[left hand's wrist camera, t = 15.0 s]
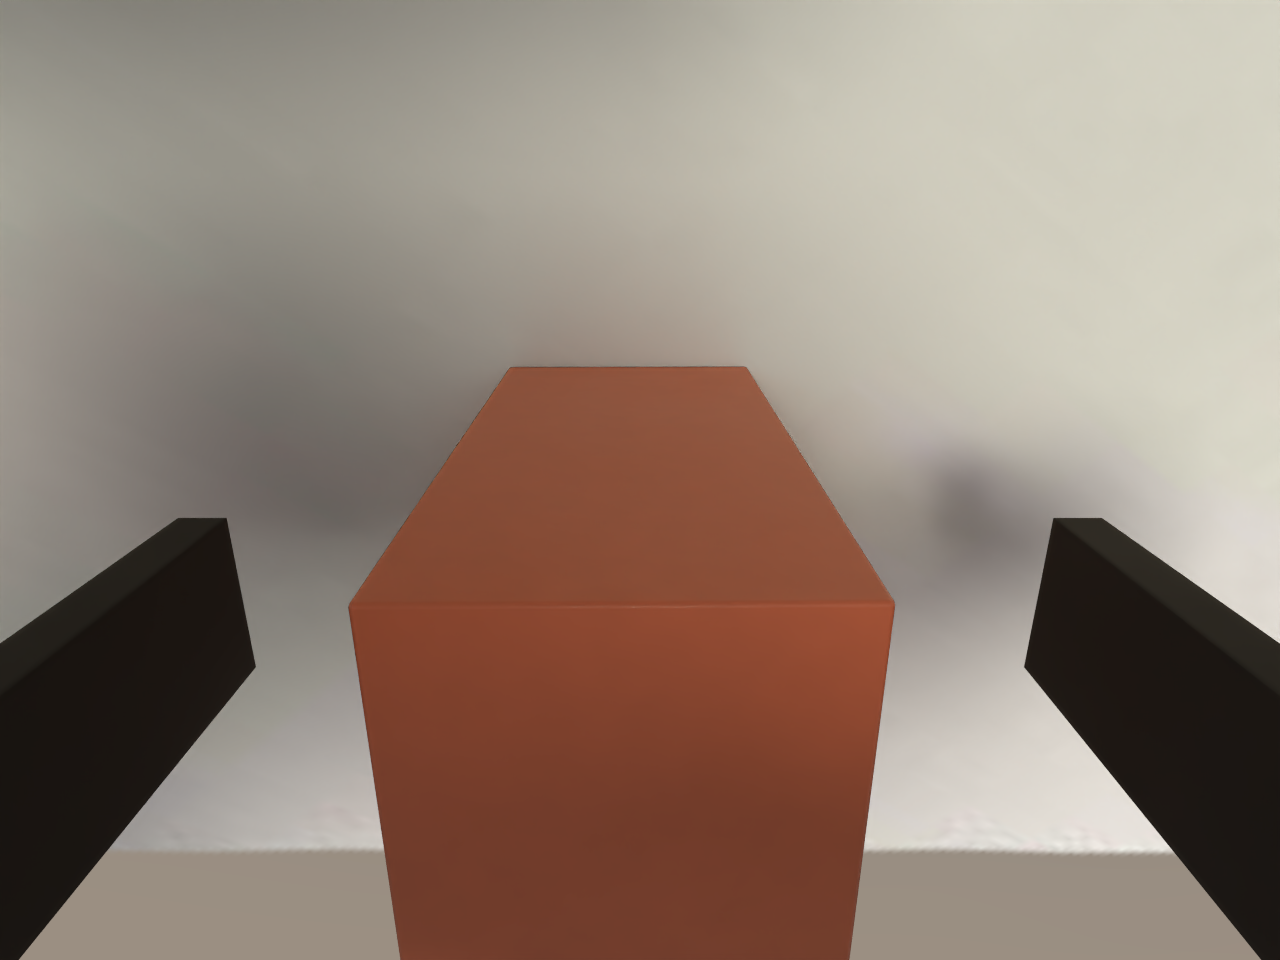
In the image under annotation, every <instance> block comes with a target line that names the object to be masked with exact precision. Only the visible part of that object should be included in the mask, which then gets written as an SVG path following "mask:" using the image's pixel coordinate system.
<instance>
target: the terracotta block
mask: <svg viewBox="0 0 1280 960" xmlns="http://www.w3.org/2000/svg"><path fill="white" fill-rule="evenodd" d="M348 608H349V614H350V621H351V628H352V635H353V641H354V648H355V655H356V662H357V668H358V675H359V682H360V689H361V695H362V702H363V709H364V716H365V723H366V729H367V736H368V743H369V750H370V756H371V763H372V770H373V777H374V783H375V790H376V797H377V804H378V810H379V817H380V824H381V831H382V837H383V844H384V851H385V858H386V865H387V871H388V878H389V885H390V892H391V898H392V905H393V912H394V919H395V925H396V932H397V939H398V946H399V952H400V959H401V960H849V958H850V950H851V942H852V934H853V926H854V919H855V911H856V903H857V896H858V888H859V880H860V873H861V865H862V857H863V849H864V842H865V834H866V826H867V818H868V811H869V803H870V795H871V787H872V780H873V772H874V764H875V757H876V749H877V741H878V733H879V726H880V718H881V710H882V702H883V695H884V687H885V679H886V671H887V664H888V656H889V648H890V640H891V633H892V625H893V617H894V610H895V603H894V600H893V599H892V597H891V596H890V594H889V592H888V591H887V589H886V588H885V586H884V585H883V583H882V581H881V580H880V578H879V577H878V575H877V573H876V572H875V570H874V569H873V567H872V566H871V564H870V562H869V561H868V559H867V558H866V556H865V554H864V553H863V551H862V550H861V548H860V547H859V545H858V543H857V542H856V540H855V539H854V537H853V535H852V534H851V532H850V531H849V529H848V528H847V526H846V524H845V523H844V521H843V520H842V518H841V516H840V515H839V513H838V512H837V510H836V509H835V507H834V505H833V504H832V502H831V501H830V499H829V497H828V496H827V494H826V493H825V491H824V490H823V488H822V486H821V485H820V483H819V482H818V480H817V478H816V477H815V475H814V474H813V472H812V471H811V469H810V467H809V466H808V464H807V463H806V461H805V459H804V458H803V456H802V455H801V453H800V452H799V450H798V448H797V447H796V445H795V444H794V442H793V440H792V439H791V437H790V436H789V434H788V433H787V431H786V429H785V428H784V426H783V425H782V423H781V421H780V420H779V418H778V417H777V415H776V414H775V412H774V410H773V409H772V407H771V406H770V404H769V402H768V401H767V399H766V398H765V396H764V395H763V393H762V391H761V390H760V388H759V387H758V385H757V383H756V382H755V380H754V379H753V377H752V376H751V374H750V372H749V371H748V369H747V368H746V367H511V368H509V370H508V371H507V372H506V374H505V375H504V377H503V378H502V380H501V381H500V383H499V384H498V386H497V387H496V389H495V390H494V392H493V393H492V395H491V396H490V398H489V399H488V400H487V402H486V403H485V405H484V406H483V408H482V409H481V411H480V412H479V414H478V415H477V417H476V418H475V420H474V421H473V423H472V424H471V425H470V427H469V428H468V430H467V431H466V433H465V434H464V436H463V437H462V439H461V440H460V442H459V443H458V445H457V446H456V448H455V449H454V450H453V452H452V453H451V455H450V456H449V458H448V459H447V461H446V462H445V464H444V465H443V467H442V468H441V470H440V471H439V473H438V474H437V475H436V477H435V478H434V480H433V481H432V483H431V484H430V486H429V487H428V489H427V490H426V492H425V493H424V495H423V496H422V498H421V499H420V501H419V502H418V503H417V505H416V506H415V508H414V509H413V511H412V512H411V514H410V515H409V517H408V518H407V520H406V521H405V523H404V524H403V526H402V527H401V528H400V530H399V531H398V533H397V534H396V536H395V537H394V539H393V540H392V542H391V543H390V545H389V546H388V548H387V549H386V551H385V552H384V553H383V555H382V556H381V558H380V559H379V561H378V562H377V564H376V565H375V567H374V568H373V570H372V571H371V573H370V574H369V576H368V577H367V579H366V580H365V581H364V583H363V584H362V586H361V587H360V589H359V590H358V592H357V593H356V595H355V596H354V598H353V599H352V601H351V602H350V604H349V607H348Z"/></svg>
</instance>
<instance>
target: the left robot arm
mask: <svg viewBox="0 0 1280 960" xmlns="http://www.w3.org/2000/svg"><path fill="white" fill-rule="evenodd" d="M255 667H256V665H255V660H254V655H253V650H252V645H251V640H250V635H249V630H248V625H247V620H246V615H245V610H244V605H243V599H242V594H241V589H240V584H239V579H238V574H237V569H236V564H235V559H234V554H233V549H232V544H231V538H230V533H229V528H228V523H227V518H178V519H176V520H175V521H173V522H172V523H171V524H169V525H168V526H166V527H165V528H163V529H162V530H161V531H159V532H158V533H156V534H155V535H154V536H152V537H151V538H149V539H148V540H146V541H145V542H144V543H142V544H141V545H139V546H138V547H137V548H135V549H134V550H132V551H131V552H129V553H128V554H127V555H125V556H124V557H122V558H121V559H120V560H118V561H117V562H115V563H114V564H112V565H111V566H110V567H108V568H107V569H105V570H104V571H103V572H101V573H100V574H98V575H97V576H95V577H94V578H93V579H91V580H90V581H88V582H87V583H85V584H84V585H83V586H81V587H80V588H78V589H77V590H76V591H74V592H73V593H71V594H70V595H68V596H67V597H66V598H64V599H63V600H61V601H60V602H59V603H57V604H56V605H54V606H53V607H51V608H50V609H49V610H47V611H46V612H44V613H43V614H42V615H40V616H39V617H37V618H36V619H34V620H33V621H32V622H30V623H29V624H27V625H26V626H24V627H23V628H22V629H20V630H19V631H17V632H16V633H15V634H13V635H12V636H10V637H9V638H7V639H6V640H5V641H3V642H2V643H0V960H19V959H20V957H21V956H22V955H23V954H24V953H25V951H26V950H27V949H28V948H29V946H30V945H31V944H32V943H33V941H34V940H35V939H36V938H37V936H38V935H39V934H40V933H41V932H42V930H43V929H44V928H45V927H46V925H47V924H48V923H49V922H50V920H51V919H52V918H53V917H54V916H55V914H56V913H57V912H58V911H59V909H60V908H61V907H62V906H63V904H64V903H65V902H66V901H67V899H68V898H69V897H70V896H71V895H72V893H73V892H74V891H75V890H76V888H77V887H78V886H79V885H80V883H81V882H82V881H83V880H84V878H85V877H86V876H87V875H88V873H89V872H90V871H91V870H92V869H93V867H94V866H95V865H96V864H97V862H98V861H99V860H100V859H101V857H102V856H103V855H104V854H105V853H106V851H107V850H108V849H109V848H110V846H111V845H112V844H113V843H114V841H115V840H116V839H117V838H118V836H119V835H120V834H121V833H122V832H123V830H124V829H125V828H126V827H127V825H128V824H129V823H130V822H131V820H132V819H133V818H134V817H135V815H136V814H137V813H138V812H139V811H140V809H141V808H142V807H143V806H144V804H145V803H146V802H147V801H148V799H149V798H150V797H151V796H152V795H153V793H154V792H155V791H156V790H157V788H158V787H159V786H160V785H161V783H162V782H163V781H164V780H165V778H166V777H167V776H168V775H169V774H170V772H171V771H172V770H173V769H174V767H175V766H176V765H177V764H178V762H179V761H180V760H181V759H182V757H183V756H184V755H185V754H186V753H187V751H188V750H189V749H190V748H191V746H192V745H193V744H194V743H195V741H196V740H197V739H198V738H199V736H200V735H201V734H202V733H203V732H204V730H205V729H206V728H207V727H208V725H209V724H210V723H211V722H212V720H213V719H214V718H215V717H216V715H217V714H218V713H219V712H220V711H221V709H222V708H223V707H224V706H225V704H226V703H227V702H228V701H229V699H230V698H231V697H232V696H233V694H234V693H235V692H236V691H237V690H238V688H239V687H240V686H241V685H242V683H243V682H244V681H245V680H246V678H247V677H248V676H249V675H250V674H251V672H252V671H253V670H254V669H255ZM1024 667H1025V669H1026V670H1027V671H1028V672H1029V674H1030V675H1031V676H1032V677H1033V678H1034V680H1035V681H1036V682H1037V683H1038V685H1039V686H1040V687H1041V688H1042V690H1043V691H1044V692H1045V693H1046V694H1047V696H1048V697H1049V698H1050V699H1051V701H1052V702H1053V703H1054V704H1055V706H1056V707H1057V708H1058V709H1059V711H1060V712H1061V713H1062V714H1063V715H1064V717H1065V718H1066V719H1067V720H1068V722H1069V723H1070V724H1071V725H1072V727H1073V728H1074V729H1075V730H1076V732H1077V733H1078V734H1079V735H1080V736H1081V738H1082V739H1083V740H1084V741H1085V743H1086V744H1087V745H1088V746H1089V748H1090V749H1091V750H1092V751H1093V753H1094V754H1095V755H1096V756H1097V757H1098V759H1099V760H1100V761H1101V762H1102V764H1103V765H1104V766H1105V767H1106V769H1107V770H1108V771H1109V772H1110V774H1111V775H1112V776H1113V777H1114V778H1115V780H1116V781H1117V782H1118V783H1119V785H1120V786H1121V787H1122V788H1123V790H1124V791H1125V792H1126V793H1127V795H1128V796H1129V797H1130V798H1131V799H1132V801H1133V802H1134V803H1135V804H1136V806H1137V807H1138V808H1139V809H1140V811H1141V812H1142V813H1143V814H1144V815H1145V817H1146V818H1147V819H1148V820H1149V822H1150V823H1151V824H1152V825H1153V827H1154V828H1155V829H1156V830H1157V832H1158V833H1159V834H1160V835H1161V836H1162V838H1163V839H1164V840H1165V841H1166V843H1167V844H1168V845H1169V846H1170V848H1171V849H1172V850H1173V851H1174V853H1175V854H1176V855H1177V856H1178V857H1179V859H1180V860H1181V861H1182V862H1183V864H1184V865H1185V866H1186V867H1187V869H1188V870H1189V871H1190V872H1191V874H1192V875H1193V876H1194V877H1195V878H1196V880H1197V881H1198V882H1199V883H1200V885H1201V886H1202V887H1203V888H1204V890H1205V891H1206V892H1207V893H1208V894H1209V896H1210V897H1211V898H1212V899H1213V901H1214V902H1215V903H1216V904H1217V906H1218V907H1219V908H1220V909H1221V911H1222V912H1223V913H1224V914H1225V915H1226V917H1227V918H1228V919H1229V920H1230V922H1231V923H1232V924H1233V925H1234V927H1235V928H1236V929H1237V930H1238V932H1239V933H1240V934H1241V935H1242V936H1243V938H1244V939H1245V940H1246V941H1247V943H1248V944H1249V945H1250V946H1251V948H1252V949H1253V950H1254V951H1255V953H1256V954H1257V955H1258V956H1259V957H1260V959H1261V960H1280V643H1278V642H1277V641H1275V640H1274V639H1273V638H1271V637H1270V636H1268V635H1267V634H1265V633H1264V632H1263V631H1261V630H1260V629H1258V628H1257V627H1256V626H1254V625H1253V624H1251V623H1250V622H1248V621H1247V620H1246V619H1244V618H1243V617H1241V616H1240V615H1238V614H1237V613H1236V612H1234V611H1233V610H1231V609H1230V608H1229V607H1227V606H1226V605H1224V604H1223V603H1221V602H1220V601H1219V600H1217V599H1216V598H1214V597H1213V596H1212V595H1210V594H1209V593H1207V592H1206V591H1204V590H1203V589H1202V588H1200V587H1199V586H1197V585H1196V584H1195V583H1193V582H1192V581H1190V580H1189V579H1187V578H1186V577H1185V576H1183V575H1182V574H1180V573H1179V572H1177V571H1176V570H1175V569H1173V568H1172V567H1170V566H1169V565H1168V564H1166V563H1165V562H1163V561H1162V560H1160V559H1159V558H1158V557H1156V556H1155V555H1153V554H1152V553H1151V552H1149V551H1148V550H1146V549H1145V548H1143V547H1142V546H1141V545H1139V544H1138V543H1136V542H1135V541H1134V540H1132V539H1131V538H1129V537H1128V536H1126V535H1125V534H1124V533H1122V532H1121V531H1119V530H1118V529H1117V528H1115V527H1114V526H1112V525H1111V524H1109V523H1108V522H1107V521H1105V520H1104V519H1102V518H1053V523H1052V528H1051V533H1050V538H1049V544H1048V549H1047V554H1046V559H1045V564H1044V569H1043V574H1042V579H1041V584H1040V589H1039V594H1038V599H1037V605H1036V610H1035V615H1034V620H1033V625H1032V630H1031V635H1030V640H1029V645H1028V650H1027V655H1026V660H1025V665H1024Z"/></svg>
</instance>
